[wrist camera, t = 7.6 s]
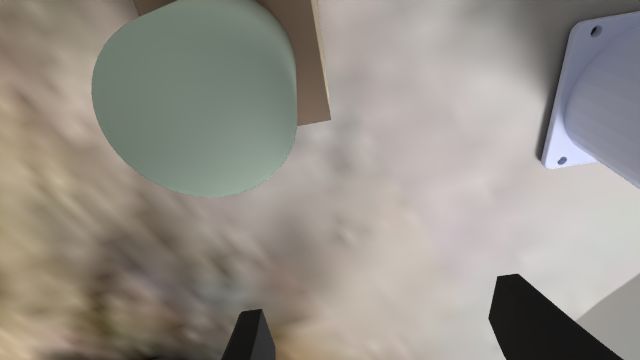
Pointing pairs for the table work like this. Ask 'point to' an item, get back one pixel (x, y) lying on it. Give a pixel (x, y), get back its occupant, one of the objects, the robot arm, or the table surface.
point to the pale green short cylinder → (199, 95)
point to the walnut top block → (298, 21)
